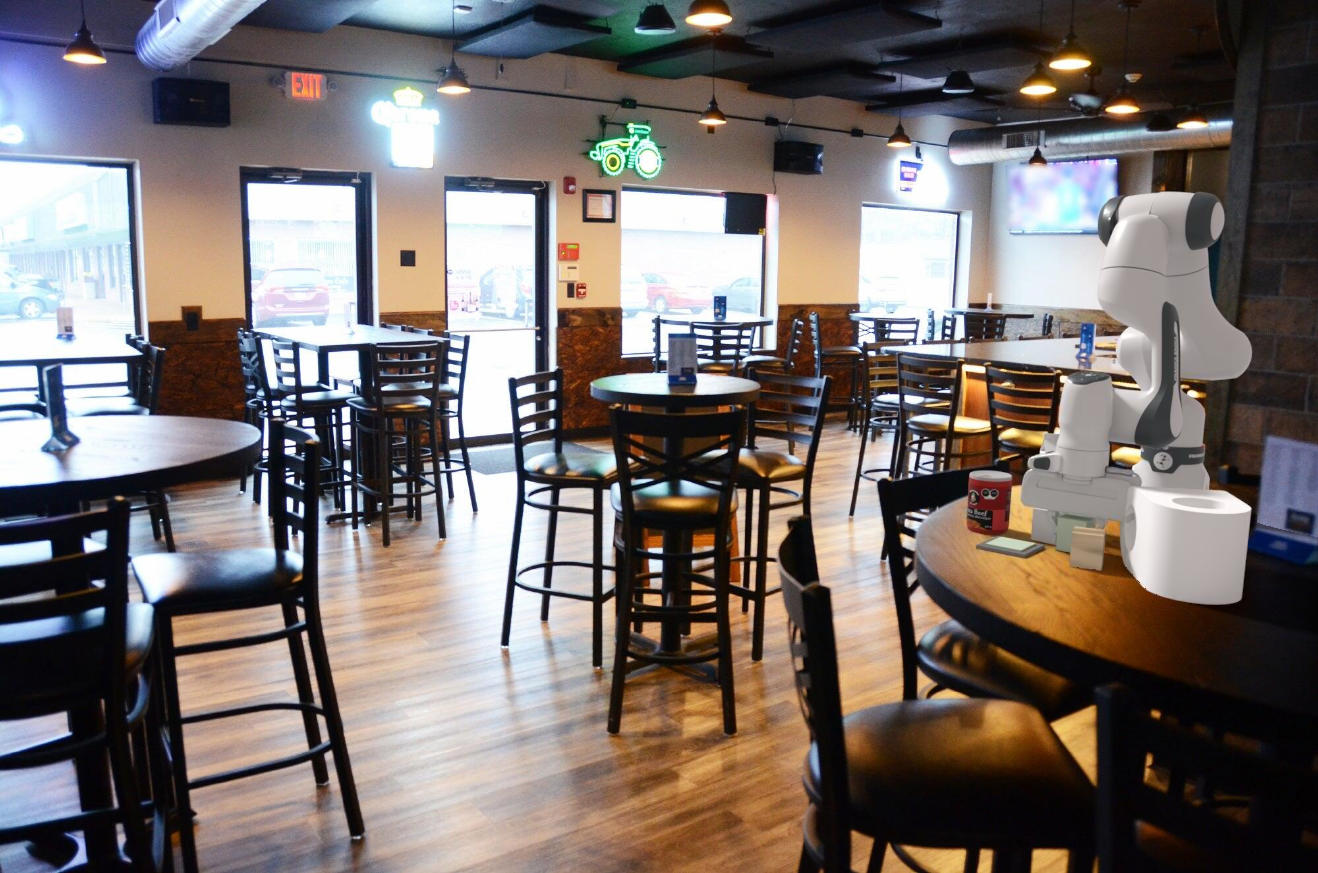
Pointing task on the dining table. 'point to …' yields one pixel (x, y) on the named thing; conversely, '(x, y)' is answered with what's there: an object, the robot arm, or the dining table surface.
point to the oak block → (1087, 548)
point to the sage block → (1071, 529)
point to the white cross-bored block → (1186, 543)
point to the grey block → (1043, 526)
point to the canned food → (989, 502)
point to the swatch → (1010, 546)
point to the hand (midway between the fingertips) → (1075, 538)
